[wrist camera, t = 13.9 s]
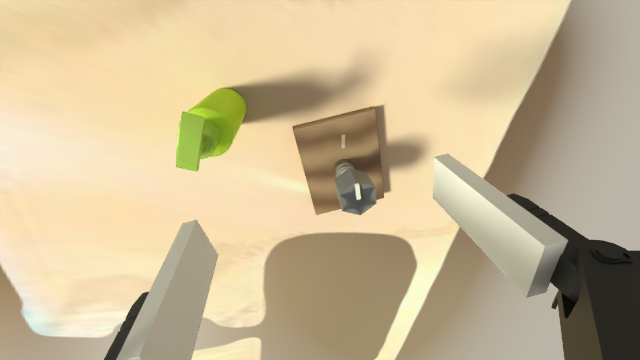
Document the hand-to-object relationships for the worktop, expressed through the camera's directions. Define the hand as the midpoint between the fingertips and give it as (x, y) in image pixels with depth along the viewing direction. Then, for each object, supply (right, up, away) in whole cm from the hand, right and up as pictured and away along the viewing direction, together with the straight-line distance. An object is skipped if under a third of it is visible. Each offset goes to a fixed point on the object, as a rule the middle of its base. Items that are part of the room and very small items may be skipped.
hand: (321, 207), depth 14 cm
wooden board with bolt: (+4, +5, +34) cm, 35 cm away
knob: (+5, +1, +27) cm, 27 cm away
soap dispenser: (-15, +14, +27) cm, 33 cm away
